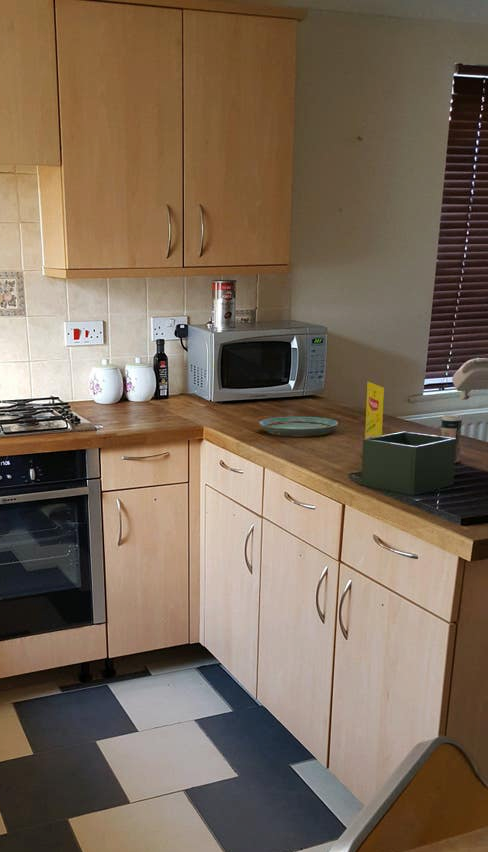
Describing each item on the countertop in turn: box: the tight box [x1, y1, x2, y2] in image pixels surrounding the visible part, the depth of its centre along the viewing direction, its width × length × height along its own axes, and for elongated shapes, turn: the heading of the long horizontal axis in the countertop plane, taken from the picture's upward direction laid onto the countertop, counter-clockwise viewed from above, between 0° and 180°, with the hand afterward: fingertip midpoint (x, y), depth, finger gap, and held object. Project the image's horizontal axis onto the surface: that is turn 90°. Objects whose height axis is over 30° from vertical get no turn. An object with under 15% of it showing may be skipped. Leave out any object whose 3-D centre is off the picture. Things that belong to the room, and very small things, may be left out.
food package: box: [364, 381, 385, 439], centre depth 223 cm, size 15×1×20 cm, turn 2°
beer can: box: [440, 413, 463, 464], centre depth 222 cm, size 5×5×12 cm
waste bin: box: [360, 430, 457, 496], centre depth 199 cm, size 15×15×11 cm
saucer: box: [259, 416, 339, 438], centre depth 274 cm, size 24×24×3 cm
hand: (480, 396), depth 207 cm, fingers open, 8 cm apart
